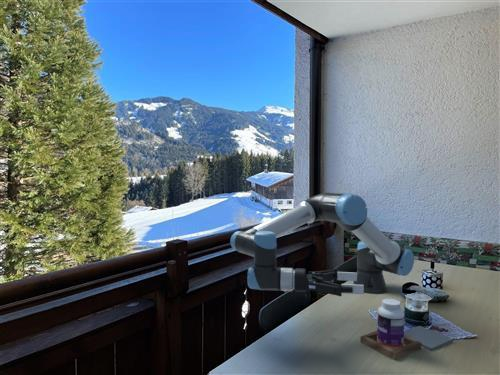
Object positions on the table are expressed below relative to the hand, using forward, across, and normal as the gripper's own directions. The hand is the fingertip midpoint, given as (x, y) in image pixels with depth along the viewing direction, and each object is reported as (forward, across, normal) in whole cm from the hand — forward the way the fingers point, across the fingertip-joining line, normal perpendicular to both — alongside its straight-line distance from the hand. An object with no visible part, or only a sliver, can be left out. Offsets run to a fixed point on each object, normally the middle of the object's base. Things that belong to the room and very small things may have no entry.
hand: (360, 282), depth 115 cm
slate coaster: (+22, -7, -20) cm, 31 cm away
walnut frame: (+10, 0, -20) cm, 22 cm away
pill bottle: (+10, 0, -20) cm, 22 cm away
